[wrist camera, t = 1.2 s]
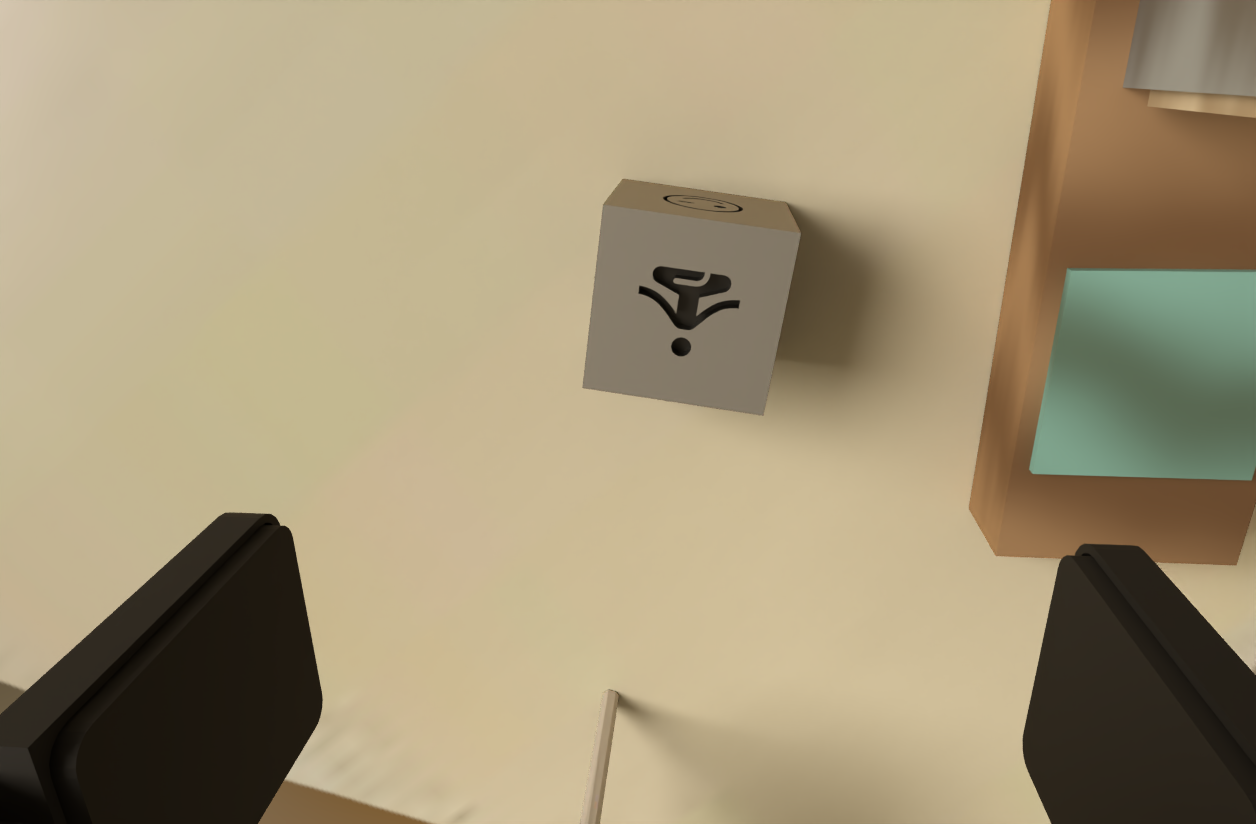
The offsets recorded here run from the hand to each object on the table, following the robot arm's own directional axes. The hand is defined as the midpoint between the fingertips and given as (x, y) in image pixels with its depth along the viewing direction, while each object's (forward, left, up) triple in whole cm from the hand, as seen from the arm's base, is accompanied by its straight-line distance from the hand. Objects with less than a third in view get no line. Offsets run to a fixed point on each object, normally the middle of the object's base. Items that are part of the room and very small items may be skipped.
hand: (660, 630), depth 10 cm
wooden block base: (-2, +13, -18) cm, 22 cm away
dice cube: (0, 0, -18) cm, 18 cm away
